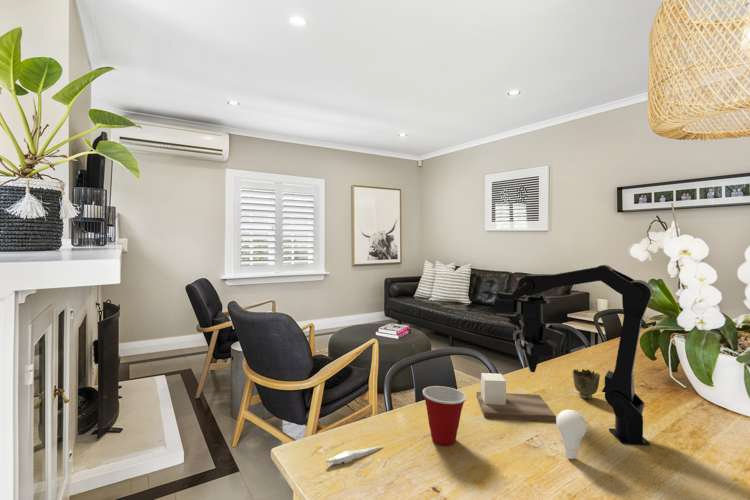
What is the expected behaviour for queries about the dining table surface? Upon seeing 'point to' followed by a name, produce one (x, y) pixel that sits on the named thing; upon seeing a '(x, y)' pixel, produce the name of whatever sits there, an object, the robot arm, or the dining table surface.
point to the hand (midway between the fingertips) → (532, 371)
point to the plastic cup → (443, 413)
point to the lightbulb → (571, 431)
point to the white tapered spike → (350, 455)
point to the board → (518, 408)
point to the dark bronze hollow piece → (586, 383)
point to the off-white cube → (493, 388)
